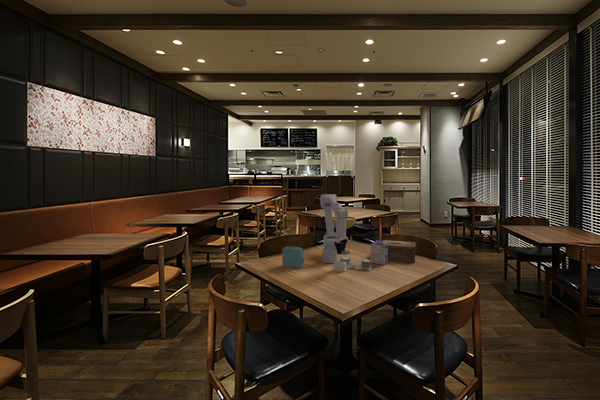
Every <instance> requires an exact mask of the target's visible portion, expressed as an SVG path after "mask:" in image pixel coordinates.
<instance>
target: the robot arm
mask: <svg viewBox="0 0 600 400" xmlns="http://www.w3.org/2000/svg"><path fill="white" fill-rule="evenodd" d="M319 197H320V199H319V202H320V208H321V209H323V212H324V219H325V227H326V228H325V230H326V233H325V234H324V235H323V238H322V239H323V241H322V244H323V245H322V246H323V248H322V250H321V263H328V264H334V265H335V262H336V261H340V259H338V255H342V254H341V253H342V251H346V246H347V243H348V241H349V237H347V229H346V219H347V217H349V216H348V210H347V208H343V206H342V205H341V203H339V202H337V200H338V198H337V197H338V196H337V194H335V193H333V194H332V193H329V194H320V196H319ZM332 211H333V212H332ZM333 214H334V217H335V222H336V227H334V226H333V219H332V217H333Z"/></svg>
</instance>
